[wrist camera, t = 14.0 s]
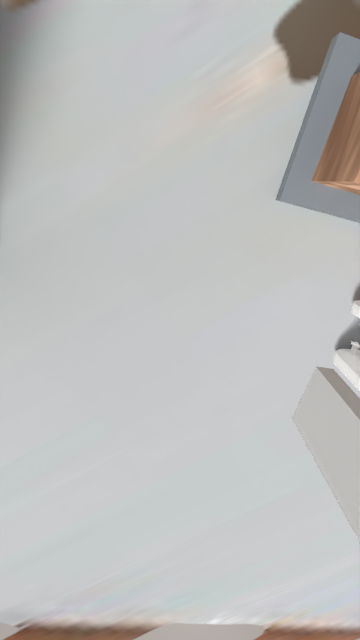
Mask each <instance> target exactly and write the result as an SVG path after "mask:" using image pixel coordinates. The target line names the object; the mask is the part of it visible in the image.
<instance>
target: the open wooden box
mask: <svg viewBox="0 0 360 640" xmlns="http://www.w3.org/2000/svg"><path fill="white" fill-rule="evenodd" d="M311 181H313V182H316V183H320V184H323V185H327V186H330V187H333V188H337V189H340V190H344V191H347V192H351V193H354V194H358V195H360V72H359V73H357V74H355V75H353V76H352V77H351V79H350V82H349V84H348V87H347V90H346V92H345V95H344V97H343V100H342V103H341V105H340V108H339V110H338V113H337V116H336V118H335V121H334V123H333V126H332V129H331V131H330V134H329V136H328V139H327V142H326V144H325V147H324V149H323V152H322V154H321V157H320V160H319V162H318V165H317V167H316V170H315V173H314V175H313V178H312V180H311Z"/></svg>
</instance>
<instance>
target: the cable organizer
mask: <svg viewBox="0 0 360 640" xmlns="http://www.w3.org/2000/svg"><path fill="white" fill-rule="evenodd" d="M350 311H351V312H352V313H353V314H354V315H356V316H357V317H359V318H360V300H356V301H354V302H353V305H352V307H351V310H350ZM358 324H359V323H358ZM359 325H360V324H359ZM359 327H360V326H359ZM350 341H351V340H350ZM351 342H352V343H350V344H353V346H352V348H351V349H338V350H336V352H335V355H334V357H333V362H334V364H335V365H336V366H337V367H338V368H339V369H340V370H341V371H342V372H343V374H344V375H345V376H346V377H347V378H348V379H349V380H350V381H351V382H352V383H353V385H354V386H355V387H356V388H357V389H358V390H359V391H360V350H357V349H358V348H359V346H360V345H359V344H358V342H353V341H351Z"/></svg>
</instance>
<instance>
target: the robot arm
mask: <svg viewBox="0 0 360 640" xmlns="http://www.w3.org/2000/svg"><path fill="white" fill-rule="evenodd" d="M292 420H293V421H294V423H295V425H296V427H297V429H298V431H299V432H300V434H301V436H302V438H303V440H304V442H305V443H306V445H307V447H308V449H309V451H310V452H311V454H312V456H313V458H314V460H315V462H316V463H317V465H318V467H319V469H320V471H321V473H322V474H323V476H324V478H325V480H326V482H327V483H328V485H329V487H330V489H331V491H332V493H333V494H334V496H335V498H336V500H337V502H338V504H339V505H340V507H341V509H342V511H343V513H344V514H345V516H346V518H347V520H348V522H349V524H350V525H351V527H352V529H353V531H354V533H355V535H356V536H357V538H358V540H359V542H360V398H359V397H358V396H357V395H356V394H355V393H354V392H353V391H352V390H351V388H350V387H349V386H348V385H347V384H346V383H345V382H344V381H343V380H342V378H341V377H340V376H339V375H338V374H337V373H336V372H335V371H334V369H330V368H323V367H315V369H314V372H313V374H312V376H311V378H310V380H309V382H308V384H307V387H306V389H305V391H304V393H303V395H302V397H301V399H300V401H299V404H298V406H297V408H296V410H295V412H294V414H293V416H292Z"/></svg>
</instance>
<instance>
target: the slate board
mask: <svg viewBox="0 0 360 640" xmlns="http://www.w3.org/2000/svg"><path fill="white" fill-rule="evenodd" d="M359 72H360V39H358V38H355V37H352V36H350V35H347V34H344V33H341V32H339V33H338V34H337V35H336V36H334V37H333V38H332V40H331V43H330V46H329V49H328V52H327V55H326V58H325V61H324V64H323V66H322V69H321V72H320V75H319V78H318V80H317V83H316V86H315V89H314V92H313V95H312V98H311V100H310V103H309V106H308V109H307V112H306V115H305V118H304V120H303V123H302V126H301V129H300V132H299V135H298V138H297V140H296V143H295V146H294V149H293V152H292V155H291V158H290V160H289V163H288V166H287V169H286V172H285V175H284V178H283V181H282V183H281V186H280V189H279V192H278V195H277V198H276V200H278V201H282V202H286V203H289V204H293V205H297V206H300V207H304V208H308V209H311V210H315V211H319V212H322V213H326V214H330V215H333V216H337V217H341V218H344V219H348V220H351V221H355V222H359V223H360V195H358V194H354V193H351V192H347V191H344V190H340V189H337V188H333V187H330V186H327V185H323V184H320V183H316V182H313V181H311V180H312V178H313V175H314V173H315V170H316V167H317V165H318V162H319V160H320V157H321V154H322V152H323V149H324V147H325V144H326V142H327V139H328V136H329V134H330V131H331V129H332V126H333V123H334V121H335V118H336V116H337V113H338V110H339V108H340V105H341V103H342V100H343V97H344V95H345V92H346V90H347V87H348V84H349V82H350V79H351V77H352V76H353V75H355V74H357V73H359Z"/></svg>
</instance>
